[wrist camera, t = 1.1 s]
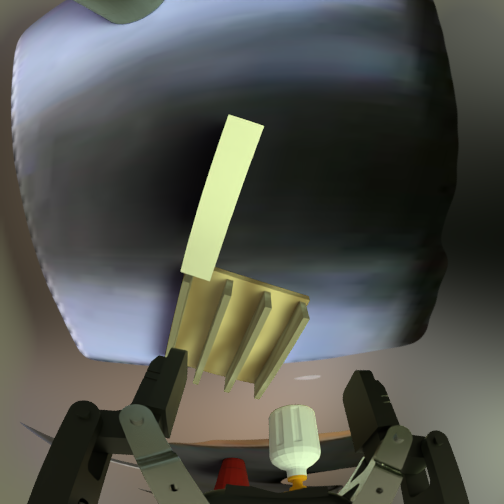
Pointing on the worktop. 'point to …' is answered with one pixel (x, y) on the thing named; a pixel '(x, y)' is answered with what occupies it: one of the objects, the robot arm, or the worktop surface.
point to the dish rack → (236, 327)
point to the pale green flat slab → (220, 195)
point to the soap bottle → (294, 441)
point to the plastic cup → (232, 473)
